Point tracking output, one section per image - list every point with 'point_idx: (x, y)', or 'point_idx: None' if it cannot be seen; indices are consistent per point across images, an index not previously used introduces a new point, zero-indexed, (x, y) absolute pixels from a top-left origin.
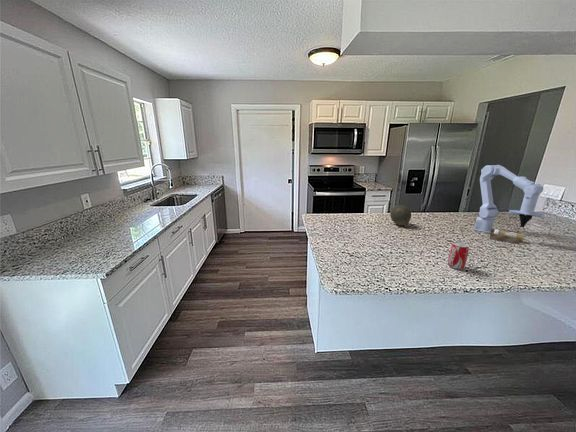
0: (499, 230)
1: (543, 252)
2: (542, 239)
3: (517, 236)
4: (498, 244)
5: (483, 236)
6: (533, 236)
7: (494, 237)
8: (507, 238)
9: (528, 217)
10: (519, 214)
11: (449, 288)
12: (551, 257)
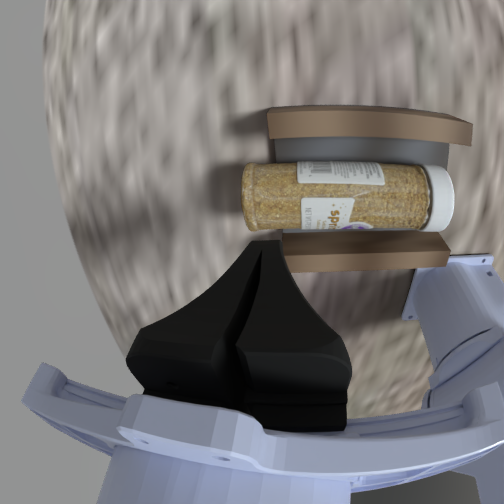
0: (428, 205)
1: (128, 54)
2: (176, 308)
3: (288, 170)
4: (391, 10)
5: (475, 154)
6: None
7: (435, 113)
8: (356, 108)
9: (173, 347)
10: (344, 419)
11: None
12: (97, 6)
